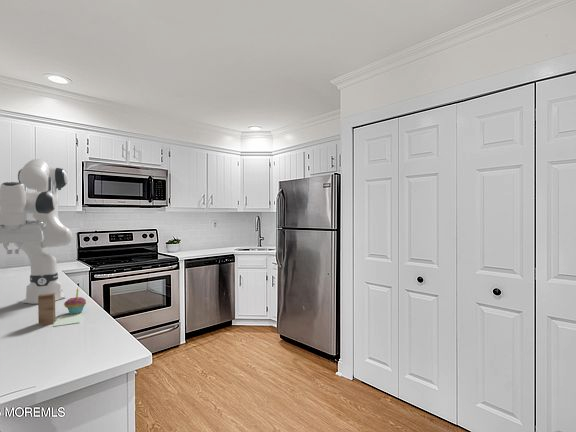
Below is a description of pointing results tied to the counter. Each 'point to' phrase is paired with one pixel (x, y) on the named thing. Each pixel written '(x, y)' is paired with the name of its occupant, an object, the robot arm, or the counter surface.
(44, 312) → the block
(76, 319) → the mat
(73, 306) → the cupcake
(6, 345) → the counter surface
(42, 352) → the counter surface
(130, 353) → the counter surface
